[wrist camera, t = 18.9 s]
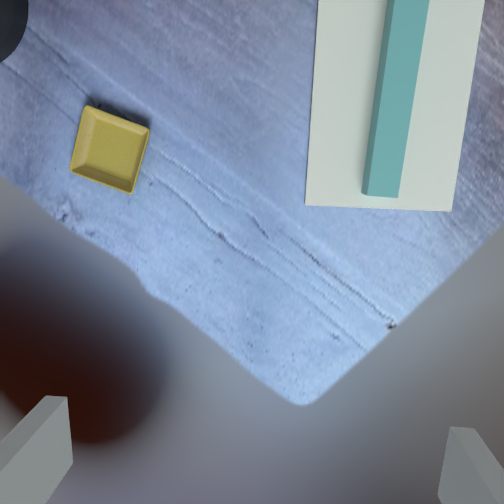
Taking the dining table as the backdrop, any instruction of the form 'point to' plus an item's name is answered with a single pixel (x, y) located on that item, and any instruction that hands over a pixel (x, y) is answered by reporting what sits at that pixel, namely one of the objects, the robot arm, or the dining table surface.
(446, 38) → the mat
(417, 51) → the bar
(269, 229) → the dining table surface
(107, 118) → the yellow square tray
